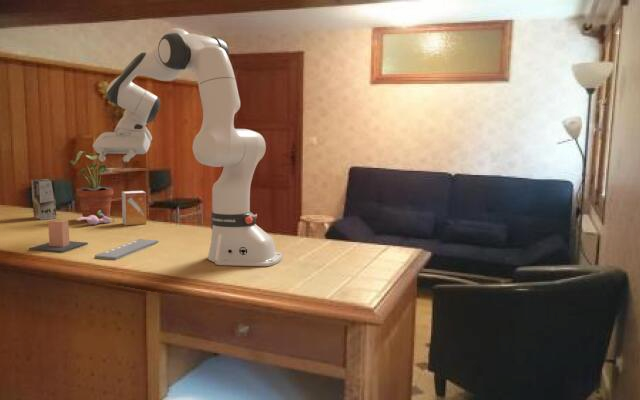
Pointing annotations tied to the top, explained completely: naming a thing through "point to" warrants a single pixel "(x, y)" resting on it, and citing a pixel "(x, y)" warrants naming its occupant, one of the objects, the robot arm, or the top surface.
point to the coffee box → (44, 199)
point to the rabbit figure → (96, 219)
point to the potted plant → (94, 192)
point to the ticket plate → (126, 249)
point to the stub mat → (58, 249)
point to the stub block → (58, 233)
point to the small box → (134, 207)
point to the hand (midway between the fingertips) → (113, 160)
